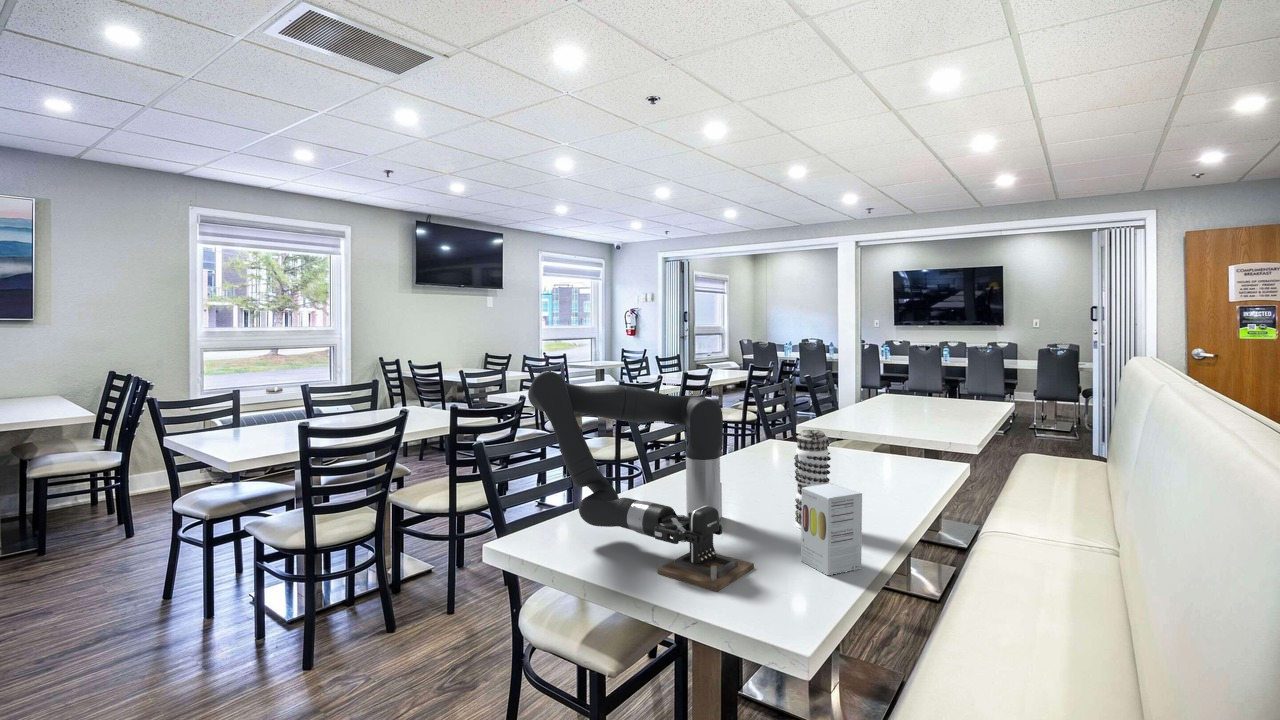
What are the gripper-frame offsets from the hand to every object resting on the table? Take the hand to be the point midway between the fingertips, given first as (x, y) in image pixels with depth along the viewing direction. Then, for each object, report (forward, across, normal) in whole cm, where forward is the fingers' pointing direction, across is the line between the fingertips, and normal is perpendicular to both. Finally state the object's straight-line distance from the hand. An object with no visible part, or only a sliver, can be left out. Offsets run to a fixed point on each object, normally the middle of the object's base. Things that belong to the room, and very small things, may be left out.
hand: (711, 534), depth 131 cm
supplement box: (+19, +19, +8) cm, 28 cm away
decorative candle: (+4, +41, +8) cm, 42 cm away
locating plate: (-1, 0, +8) cm, 8 cm away
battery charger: (-2, 0, +6) cm, 6 cm away
